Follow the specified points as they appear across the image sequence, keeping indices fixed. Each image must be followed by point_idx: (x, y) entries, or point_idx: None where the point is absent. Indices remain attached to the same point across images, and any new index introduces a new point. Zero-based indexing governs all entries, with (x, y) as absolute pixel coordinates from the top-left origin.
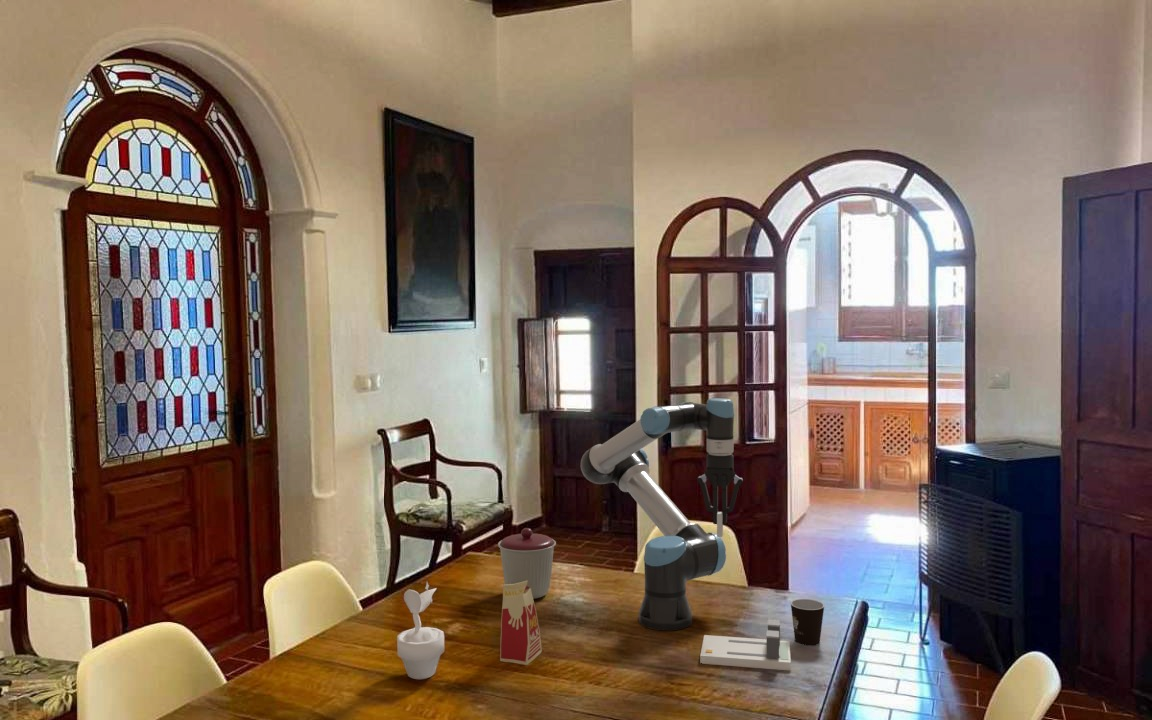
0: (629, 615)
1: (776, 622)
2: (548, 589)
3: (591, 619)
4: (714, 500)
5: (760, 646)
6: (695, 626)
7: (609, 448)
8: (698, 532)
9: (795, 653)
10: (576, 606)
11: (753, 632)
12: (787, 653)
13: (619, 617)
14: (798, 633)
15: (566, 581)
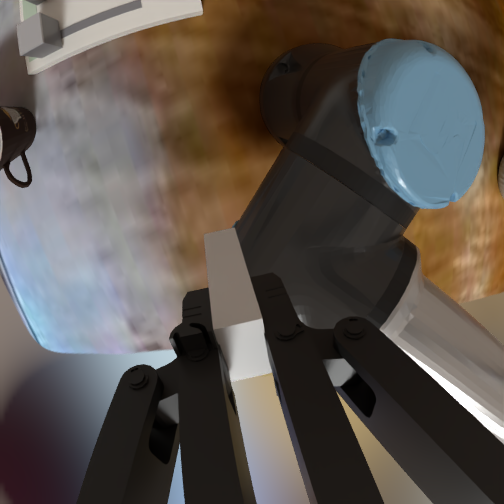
0: None
1: (23, 36)
2: (501, 177)
3: None
4: (329, 423)
5: (73, 13)
6: (247, 93)
7: None
8: (342, 298)
9: (23, 61)
10: None
11: (115, 116)
12: (24, 15)
13: None
14: (15, 108)
15: (478, 241)
